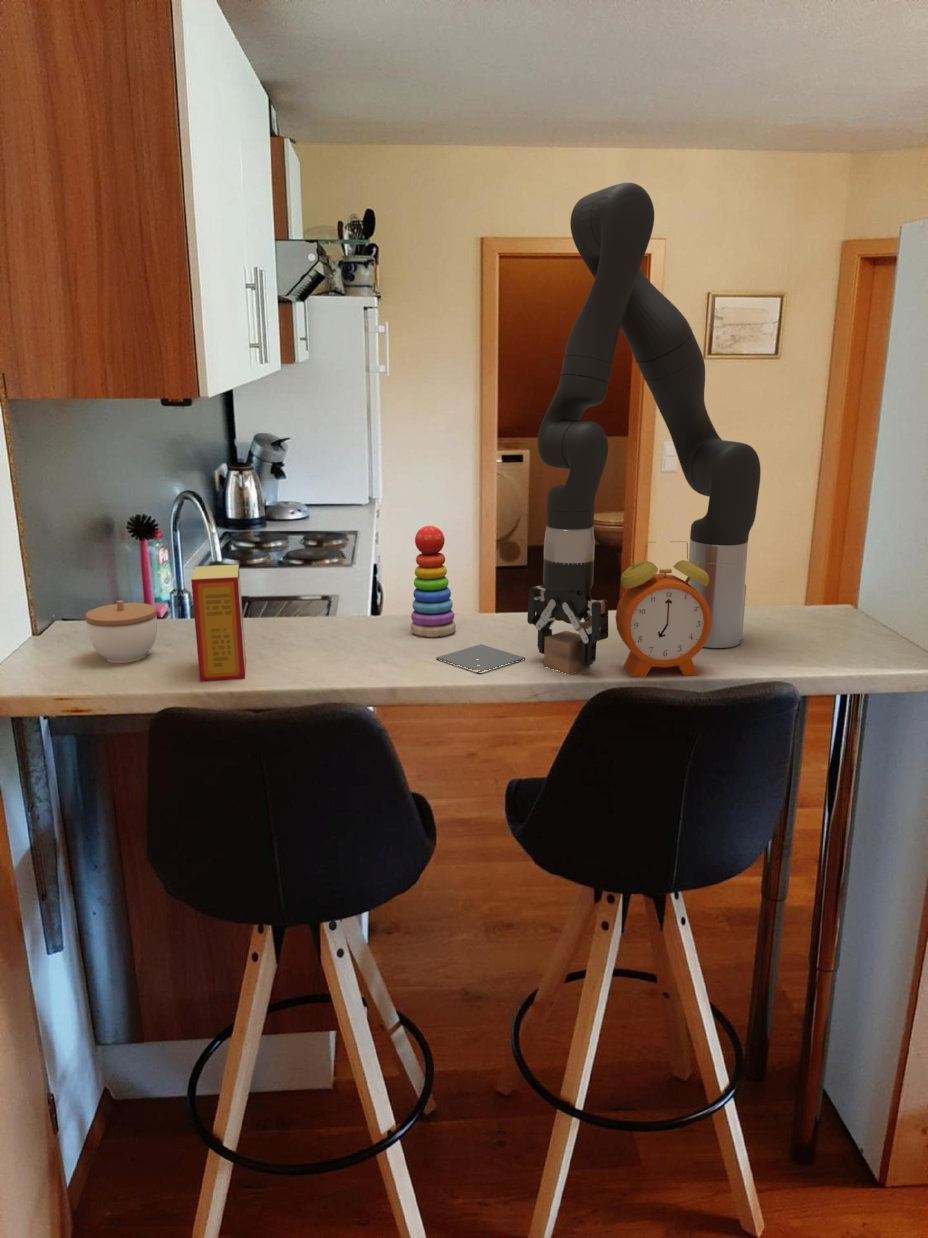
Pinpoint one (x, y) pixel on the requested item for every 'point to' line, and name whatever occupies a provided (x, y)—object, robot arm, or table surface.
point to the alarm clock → (662, 617)
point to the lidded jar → (122, 630)
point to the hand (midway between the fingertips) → (565, 658)
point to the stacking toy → (431, 587)
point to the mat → (480, 657)
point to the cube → (563, 652)
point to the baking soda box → (219, 622)
